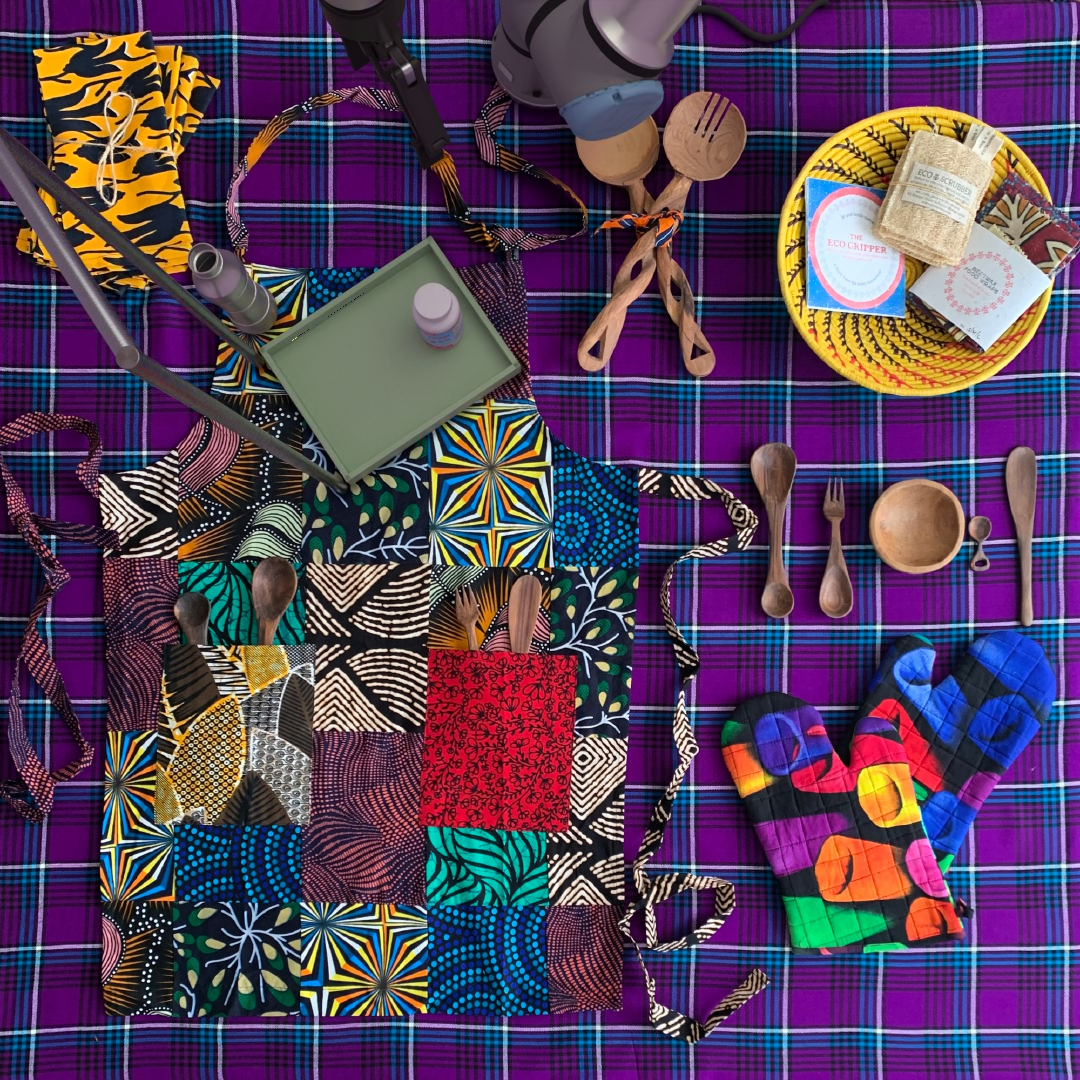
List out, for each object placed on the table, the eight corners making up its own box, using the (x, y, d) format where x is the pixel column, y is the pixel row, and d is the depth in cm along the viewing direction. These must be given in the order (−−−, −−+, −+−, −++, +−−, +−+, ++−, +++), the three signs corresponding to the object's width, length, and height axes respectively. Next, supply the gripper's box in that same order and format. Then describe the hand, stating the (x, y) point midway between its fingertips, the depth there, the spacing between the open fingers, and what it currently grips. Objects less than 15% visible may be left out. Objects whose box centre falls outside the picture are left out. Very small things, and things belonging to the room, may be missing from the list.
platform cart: (431, 241, 125) (313, -124, 63) (523, 373, 123) (492, 131, 62) (251, 361, 124) (-49, 108, 62) (340, 496, 122) (123, 373, 61)
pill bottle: (414, 342, 124) (400, 315, 112) (430, 301, 124) (417, 269, 113) (456, 357, 123) (446, 331, 112) (471, 316, 124) (463, 286, 113)
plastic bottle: (285, 293, 125) (233, 232, 105) (278, 341, 124) (226, 289, 104) (238, 289, 125) (178, 227, 105) (232, 337, 124) (170, 283, 104)
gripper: (239, -116, 78) (306, 40, 100) (399, 113, 76) (432, 222, 98) (312, -162, 79) (363, 3, 100) (473, 64, 77) (490, 183, 98)
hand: (397, 111), depth 99 cm, fingers open, 13 cm apart
